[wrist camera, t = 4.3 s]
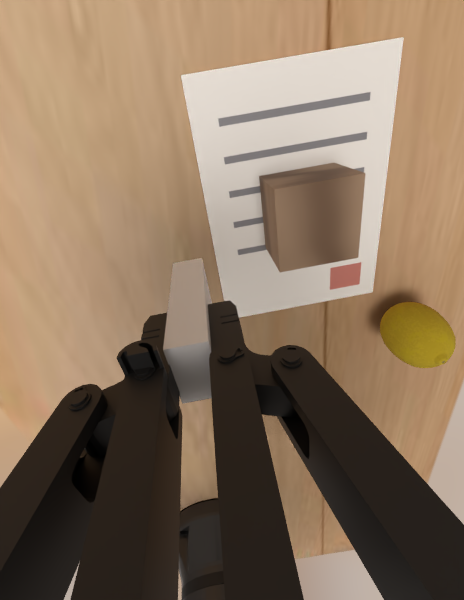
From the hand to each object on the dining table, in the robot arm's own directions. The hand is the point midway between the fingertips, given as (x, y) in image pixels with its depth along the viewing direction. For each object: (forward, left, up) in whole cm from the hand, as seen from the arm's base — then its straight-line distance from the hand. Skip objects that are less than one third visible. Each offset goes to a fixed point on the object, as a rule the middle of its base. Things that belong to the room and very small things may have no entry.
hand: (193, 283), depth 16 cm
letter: (+9, 0, -11) cm, 14 cm away
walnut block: (+9, 0, -11) cm, 14 cm away
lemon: (+19, -13, -11) cm, 26 cm away
